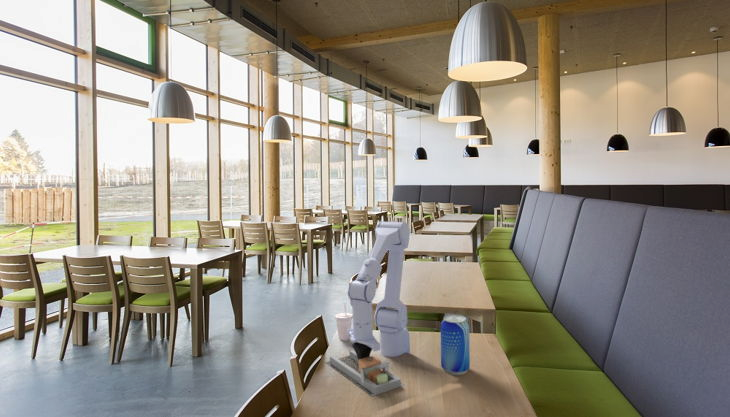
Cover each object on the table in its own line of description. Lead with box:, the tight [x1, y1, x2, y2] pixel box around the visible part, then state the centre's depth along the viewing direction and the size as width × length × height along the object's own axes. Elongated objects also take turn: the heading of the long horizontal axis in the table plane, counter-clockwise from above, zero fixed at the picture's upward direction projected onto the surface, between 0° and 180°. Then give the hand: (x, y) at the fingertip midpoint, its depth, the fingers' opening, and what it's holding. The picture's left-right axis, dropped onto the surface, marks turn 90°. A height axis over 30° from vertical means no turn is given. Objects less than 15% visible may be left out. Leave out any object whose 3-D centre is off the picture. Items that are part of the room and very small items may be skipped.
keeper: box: [357, 354, 382, 385], centre depth 124 cm, size 5×6×6 cm
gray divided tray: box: [325, 349, 405, 398], centre depth 129 cm, size 11×26×3 cm, turn 33°
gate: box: [360, 360, 390, 387], centre depth 123 cm, size 9×1×6 cm, turn 123°
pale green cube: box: [377, 373, 388, 385], centre depth 120 cm, size 3×3×3 cm
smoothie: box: [334, 302, 353, 341], centre depth 156 cm, size 6×6×14 cm
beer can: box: [440, 314, 471, 376], centre depth 131 cm, size 8×8×16 cm
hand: (363, 367), depth 128 cm, fingers closed
